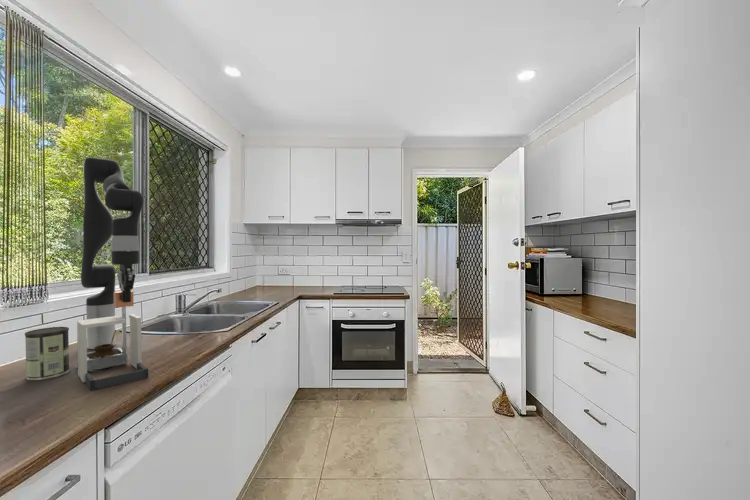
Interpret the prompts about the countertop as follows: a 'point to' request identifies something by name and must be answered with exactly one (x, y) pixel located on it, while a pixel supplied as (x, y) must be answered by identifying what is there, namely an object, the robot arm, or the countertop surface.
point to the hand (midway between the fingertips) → (126, 302)
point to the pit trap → (116, 378)
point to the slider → (120, 353)
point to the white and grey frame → (84, 324)
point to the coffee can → (47, 353)
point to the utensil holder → (104, 349)
